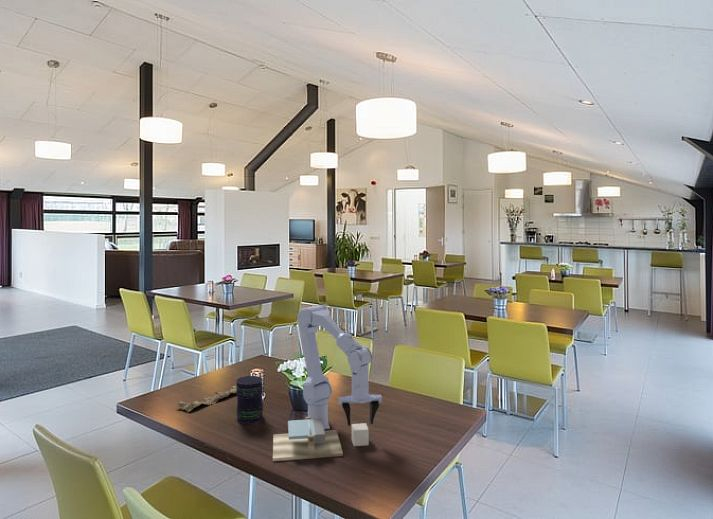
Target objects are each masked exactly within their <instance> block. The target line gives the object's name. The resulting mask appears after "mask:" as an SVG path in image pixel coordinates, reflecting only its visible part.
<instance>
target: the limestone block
mask: <svg viewBox="0 0 713 519" xmlns="http://www.w3.org/2000/svg"><path fill="white" fill-rule="evenodd" d="M369 436H370V434H369V427H368V425H367V423H366V422H365V423H364V422H363V423H362V422H361V423H351V442H352V445H353V447H361V446H363V447H364V446H369V445H370V444H369V443H370V442H369Z"/></svg>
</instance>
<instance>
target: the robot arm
mask: <svg viewBox="0 0 713 519" xmlns="http://www.w3.org/2000/svg"><path fill="white" fill-rule="evenodd" d="M296 315H297V316H296V317H297V321H298V327H299V328H298V329H299V331H298V332H299V335H300V336H299V337H300V341H301V346H302V347H301V348H302V351H303V358H304V362H305V370H306V374H307V377H306V379H305V381H304V382H303V384H302V386H303V391H302V396H303V399H304V401H305V403H306V404H307V417H310V416H311V419H322V423H323V428H324V430H330V424H329V423H330V422H329V420H328V419H329V418H328V416H329V414H328V402H329V401H330V397H332V394H333V388H332V386H331V383H330V380H329V377H327V376H326V375H324V373H323V370H322V364H321V359H320V354H319V353H320V352H319V348H318V344H317V339H316V338H317V336H316V331H317V329H318V328H319V327H322V328H323V329H324V330H326V331H327V332H328V333H329V334H330V335H331V336H332V337H333V338H334V339H336V340H335V342H336V344H335V345H336V346H337V347H338V348H339V349H340V350H341V351H342V353H344V354H345V356H347V362H348V364H349V366H350V367H349V368H350V371H351V394H350V395H346V396H340V397H339V396H338V400H337V402H338V405H339V406H342V409H343V411H344V413H345V417H346V421H347V426H349V427H350V426H351V405H350V404H366V403H368V404H369V422H370V425H373V424H374V420H375V416H376V413H377V411H378V410H379V407H380V403H382V401H383V400H382V399H383V397H382V395H381V394H370V393H369V387H370V386H369V383H370V382H369V379H370V378H369V375H370V374H369V373H370V372H369V368H370V367H369V365H370V363H371V362H372V361H373V354H372V352H371V350H370V348H368V347H367V346H363V345H361V344H360V343H359V342H358V341H356V339H355V338H354V337H353V334H351V333H349V332H344V331H343V330H342V329H341V328H340V326H338V324H337V322H336V321H335V320H334V319H333V318H332V317H331V313H330V310H329V309H328V308H327V307H326V305H323V304H319V305H314V306H309V307H302V308H300V310H299V312H298V314H296Z"/></svg>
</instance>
